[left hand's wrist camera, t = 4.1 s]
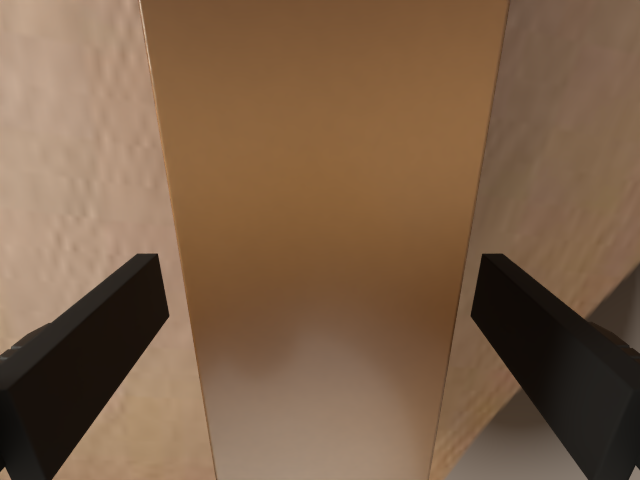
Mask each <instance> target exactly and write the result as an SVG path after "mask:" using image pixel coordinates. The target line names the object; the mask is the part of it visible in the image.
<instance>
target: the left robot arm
mask: <svg viewBox="0 0 640 480" xmlns="http://www.w3.org/2000/svg"><path fill="white" fill-rule="evenodd" d="M168 317H169V311H168V306H167V300H166V295H165V290H164V284H163V279H162V274H161V269H160V263H159V258H158V254H136V255H135V256H134V257H133V258H131V259H130V260H129V261H128V262H126V263H125V264H124V265H123V266H121V267H120V268H119V269H118V270H116V271H115V272H114V273H113V274H111V275H110V276H109V277H108V278H107V279H105V280H104V281H103V282H102V283H100V284H99V285H98V286H97V287H95V288H94V289H93V290H92V291H90V292H89V293H88V294H87V295H85V296H84V297H83V298H82V299H80V300H79V301H78V302H77V303H75V304H74V305H73V306H72V307H70V308H69V309H68V310H67V311H65V312H64V313H63V314H62V315H60V316H59V317H58V318H57V319H56V320H54V321H53V322H52V323H48V324H46V325H44V326H42V327H40V328H38V329H36V330H34V331H33V332H31V333H29V334H27V335H26V336H25V337H23V338H22V339H21V340H19V341H18V342H17V343H16V344H14V345H13V346H12V347H11V349H8V350H7V351H5V352H4V353H3V354H1V355H0V472H1V470H2V469H3V468H4V467H6V469H7V472H8V474H9V476H10V478H11V480H52V479H53V477H54V476H55V474H56V473H57V472H58V470H59V469H60V467H61V466H62V465H63V463H64V462H65V461H66V459H67V458H68V456H69V455H70V454H71V452H72V451H73V449H74V448H75V447H76V445H77V444H78V442H79V441H80V440H81V438H82V437H83V436H84V434H85V433H86V431H87V430H88V429H89V427H90V426H91V424H92V423H93V422H94V420H95V419H96V417H97V416H98V415H99V413H100V412H101V411H102V409H103V408H104V406H105V405H106V404H107V402H108V401H109V399H110V398H111V397H112V395H113V394H114V392H115V391H116V390H117V388H118V387H119V385H120V384H121V383H122V381H123V380H124V379H125V377H126V376H127V374H128V373H129V372H130V370H131V369H132V367H133V366H134V365H135V363H136V362H137V360H138V359H139V358H140V356H141V355H142V354H143V352H144V351H145V349H146V348H147V347H148V345H149V344H150V342H151V341H152V340H153V338H154V337H155V335H156V334H157V333H158V331H159V330H160V329H161V327H162V326H163V324H164V323H165V322H166V320H167V319H168ZM471 317H472V319H473V320H474V322H475V323H476V324H477V326H478V327H479V329H480V330H481V331H482V333H483V334H484V335H485V337H486V338H487V340H488V341H489V342H490V344H491V345H492V347H493V348H494V349H495V351H496V352H497V354H498V355H499V356H500V358H501V359H502V360H503V362H504V363H505V365H506V366H507V367H508V369H509V370H510V372H511V373H512V374H513V376H514V377H515V379H516V380H517V381H518V383H519V384H520V386H521V387H522V388H523V390H524V391H525V392H526V394H527V395H528V397H529V398H530V399H531V401H532V402H533V404H534V405H535V406H536V408H537V409H538V410H539V412H540V413H541V415H542V416H543V417H544V419H545V420H546V422H547V423H548V424H549V426H550V427H551V428H552V430H553V431H554V433H555V434H556V436H557V437H558V438H559V440H560V441H561V442H562V444H563V445H564V447H565V448H566V449H567V451H568V452H569V454H570V455H571V456H572V458H573V459H574V461H575V462H576V463H577V465H578V466H579V467H580V469H581V470H582V472H583V473H584V474H585V476H586V477H587V479H588V480H629V478H630V476H631V474H632V472H633V469H634V467H635V465H636V466H637V467H638V468H639V470H640V353H638V352H637V351H636V350H634V349H633V348H630V347H629V345H628V344H627V343H625V342H624V341H623V340H621V339H620V338H619V337H618V336H616V335H615V334H614V333H612V332H610V331H608V330H606V329H604V328H602V327H601V326H599V325H597V324H595V323H593V322H587V321H586V320H584V319H583V318H582V317H581V316H579V315H578V314H577V313H576V312H575V311H573V310H572V309H571V308H570V307H568V306H567V305H566V304H565V303H563V302H562V301H561V300H560V299H558V298H557V297H556V296H555V295H553V294H552V293H551V292H550V291H548V290H547V289H546V288H545V287H543V286H542V285H541V284H540V283H538V282H537V281H536V280H535V279H533V278H532V277H531V276H530V275H529V274H527V273H526V272H525V271H524V270H522V269H521V268H520V267H519V266H517V265H516V264H515V263H514V262H512V261H511V260H510V259H509V258H507V257H506V256H505V255H504V254H482V258H481V263H480V268H479V274H478V279H477V284H476V290H475V295H474V300H473V306H472V311H471Z"/></svg>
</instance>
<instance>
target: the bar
mask: <svg viewBox="0 0 640 480" xmlns="http://www.w3.org/2000/svg"><path fill="white" fill-rule="evenodd" d="M138 3H139V9H140V15H141V22H142V28H143V34H144V40H145V46H146V52H147V58H148V65H149V71H150V77H151V83H152V89H153V95H154V101H155V108H156V114H157V120H158V126H159V132H160V138H161V144H162V151H163V157H164V163H165V169H166V175H167V181H168V187H169V194H170V200H171V206H172V212H173V218H174V224H175V230H176V237H177V243H178V249H179V255H180V261H181V267H182V273H183V280H184V286H185V292H186V298H187V304H188V310H189V316H190V323H191V329H192V335H193V341H194V347H195V353H196V359H197V366H198V372H199V378H200V384H201V390H202V396H203V402H204V409H205V415H206V421H207V427H208V433H209V439H210V445H211V452H212V458H213V464H214V470H215V476H216V480H429V475H430V469H431V463H432V457H433V451H434V446H435V440H436V434H437V428H438V422H439V416H440V410H441V404H442V399H443V393H444V387H445V381H446V375H447V369H448V363H449V357H450V352H451V346H452V340H453V334H454V328H455V322H456V316H457V310H458V305H459V299H460V293H461V287H462V281H463V275H464V269H465V263H466V258H467V252H468V246H469V240H470V234H471V228H472V222H473V216H474V211H475V205H476V199H477V193H478V187H479V181H480V175H481V169H482V164H483V158H484V152H485V146H486V140H487V134H488V128H489V122H490V117H491V111H492V105H493V99H494V93H495V87H496V81H497V75H498V70H499V64H500V58H501V52H502V46H503V40H504V34H505V28H506V23H507V17H508V11H509V5H510V0H138Z"/></svg>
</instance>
